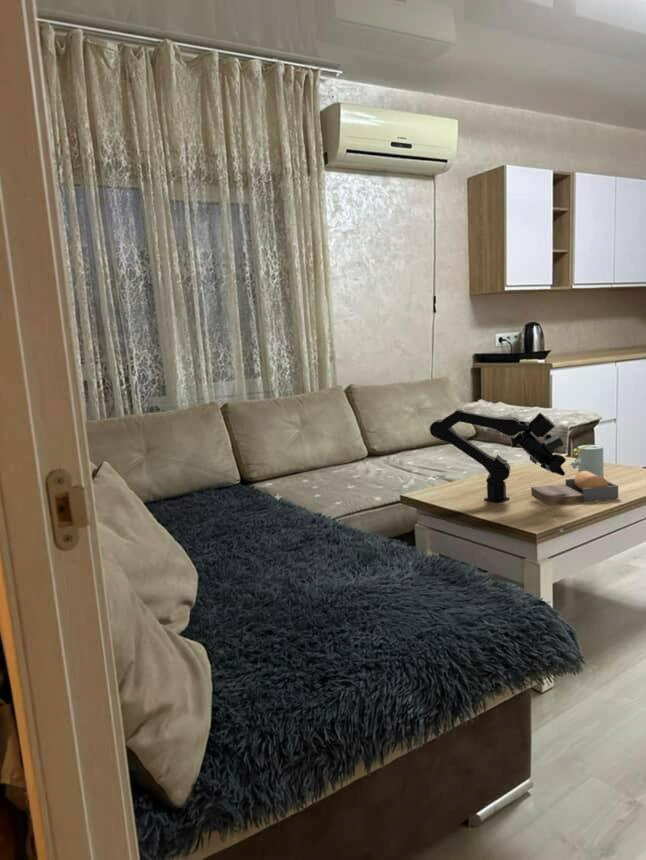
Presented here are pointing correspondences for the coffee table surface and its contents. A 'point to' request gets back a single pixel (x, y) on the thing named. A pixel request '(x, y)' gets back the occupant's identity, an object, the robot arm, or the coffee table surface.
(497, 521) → the coffee table surface
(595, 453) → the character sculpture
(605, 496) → the tray
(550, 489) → the board
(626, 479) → the coffee table surface
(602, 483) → the roller
